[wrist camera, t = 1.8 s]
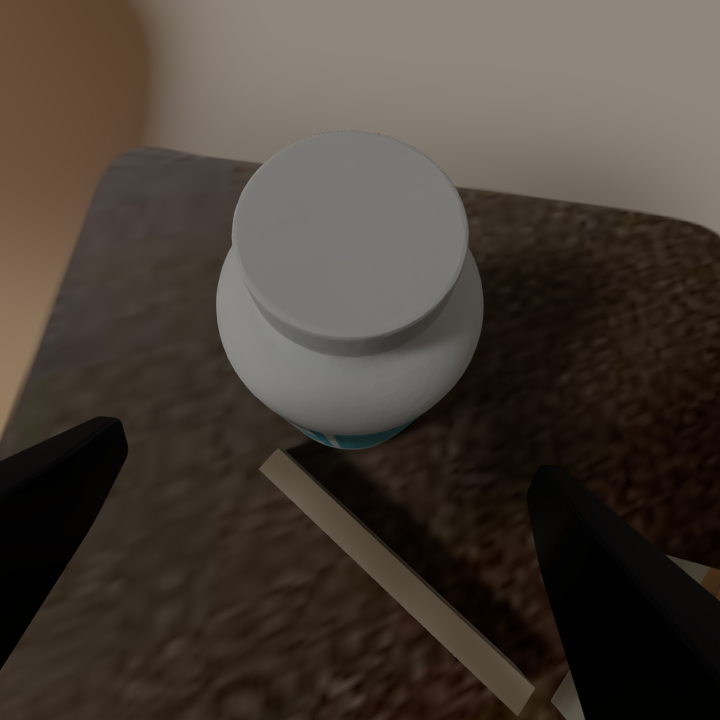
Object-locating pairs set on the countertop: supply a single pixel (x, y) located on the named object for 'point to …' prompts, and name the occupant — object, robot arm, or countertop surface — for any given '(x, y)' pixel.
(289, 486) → the rail
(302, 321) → the pill bottle
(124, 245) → the countertop surface
